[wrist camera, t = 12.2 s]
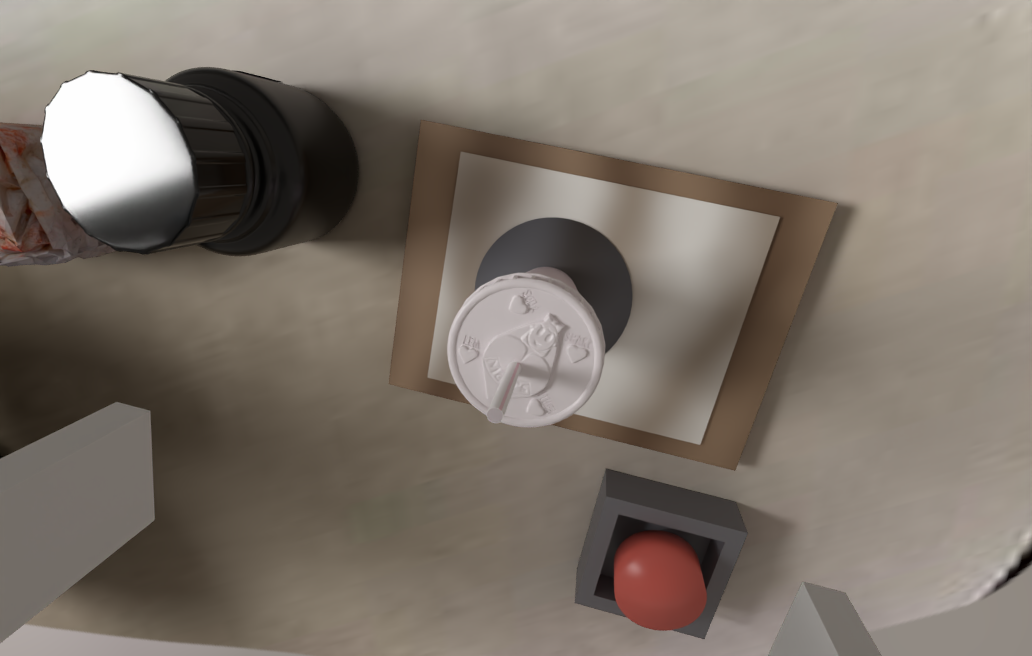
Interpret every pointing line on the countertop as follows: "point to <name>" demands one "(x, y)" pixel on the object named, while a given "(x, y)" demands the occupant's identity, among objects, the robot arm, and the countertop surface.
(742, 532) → the button housing
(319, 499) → the countertop surface
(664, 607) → the button
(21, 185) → the food item
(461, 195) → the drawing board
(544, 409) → the smoothie
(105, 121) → the ink bottle
